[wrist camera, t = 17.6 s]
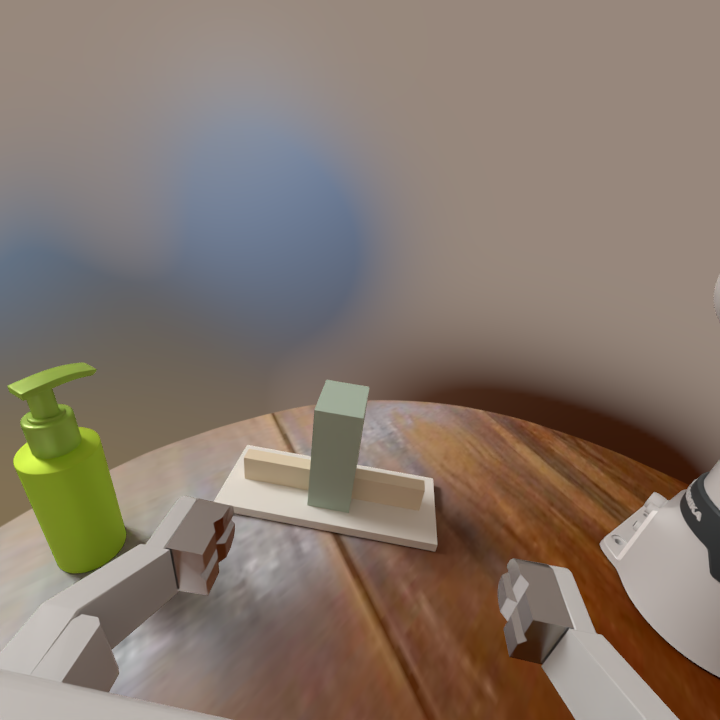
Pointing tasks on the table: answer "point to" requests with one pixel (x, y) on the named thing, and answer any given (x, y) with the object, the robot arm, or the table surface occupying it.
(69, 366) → the soap dispenser
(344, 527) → the rail board
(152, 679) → the table surface
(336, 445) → the tall rectangular block
